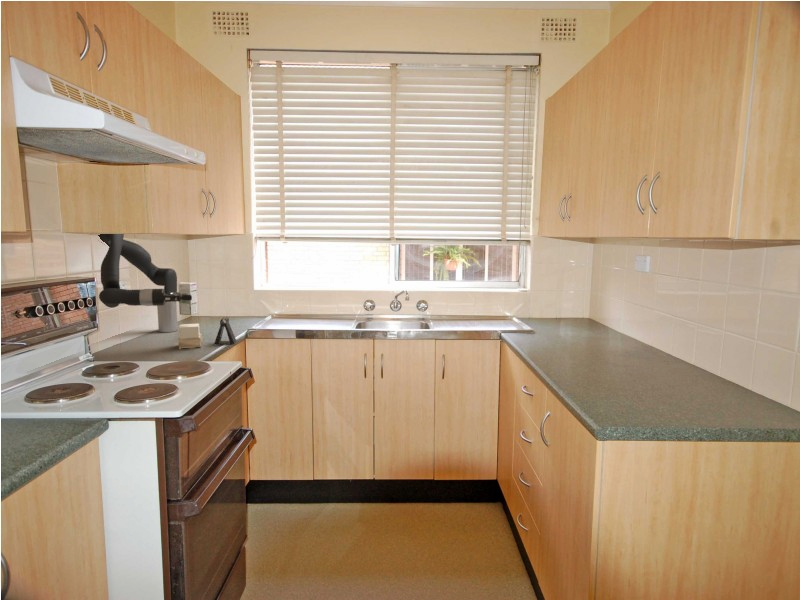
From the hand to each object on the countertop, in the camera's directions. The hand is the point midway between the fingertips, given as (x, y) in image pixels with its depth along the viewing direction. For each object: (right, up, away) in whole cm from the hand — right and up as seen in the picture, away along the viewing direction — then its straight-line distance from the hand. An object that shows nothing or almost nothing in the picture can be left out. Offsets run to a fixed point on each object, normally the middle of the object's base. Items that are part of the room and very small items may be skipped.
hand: (192, 296), depth 218 cm
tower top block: (-2, -18, +2) cm, 18 cm away
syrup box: (-2, -8, 0) cm, 8 cm away
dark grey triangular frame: (+11, -22, +10) cm, 27 cm away
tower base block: (-2, -23, +3) cm, 23 cm away
